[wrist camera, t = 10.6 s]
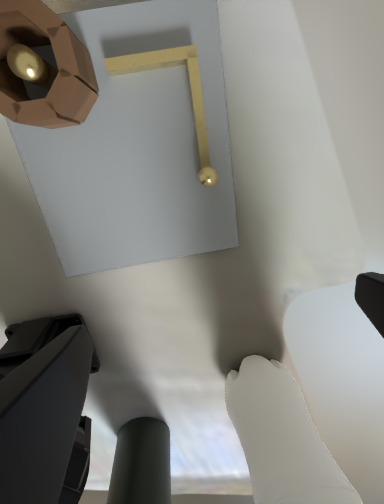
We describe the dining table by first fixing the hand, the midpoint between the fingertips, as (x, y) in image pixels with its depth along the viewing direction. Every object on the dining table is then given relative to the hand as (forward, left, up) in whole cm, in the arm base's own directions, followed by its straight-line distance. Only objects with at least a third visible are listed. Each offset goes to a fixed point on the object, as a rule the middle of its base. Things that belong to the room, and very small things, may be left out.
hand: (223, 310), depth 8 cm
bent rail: (+6, +1, -12) cm, 14 cm away
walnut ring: (+10, +7, -12) cm, 17 cm away
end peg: (+10, +7, -13) cm, 18 cm away
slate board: (+5, +4, -13) cm, 14 cm away
